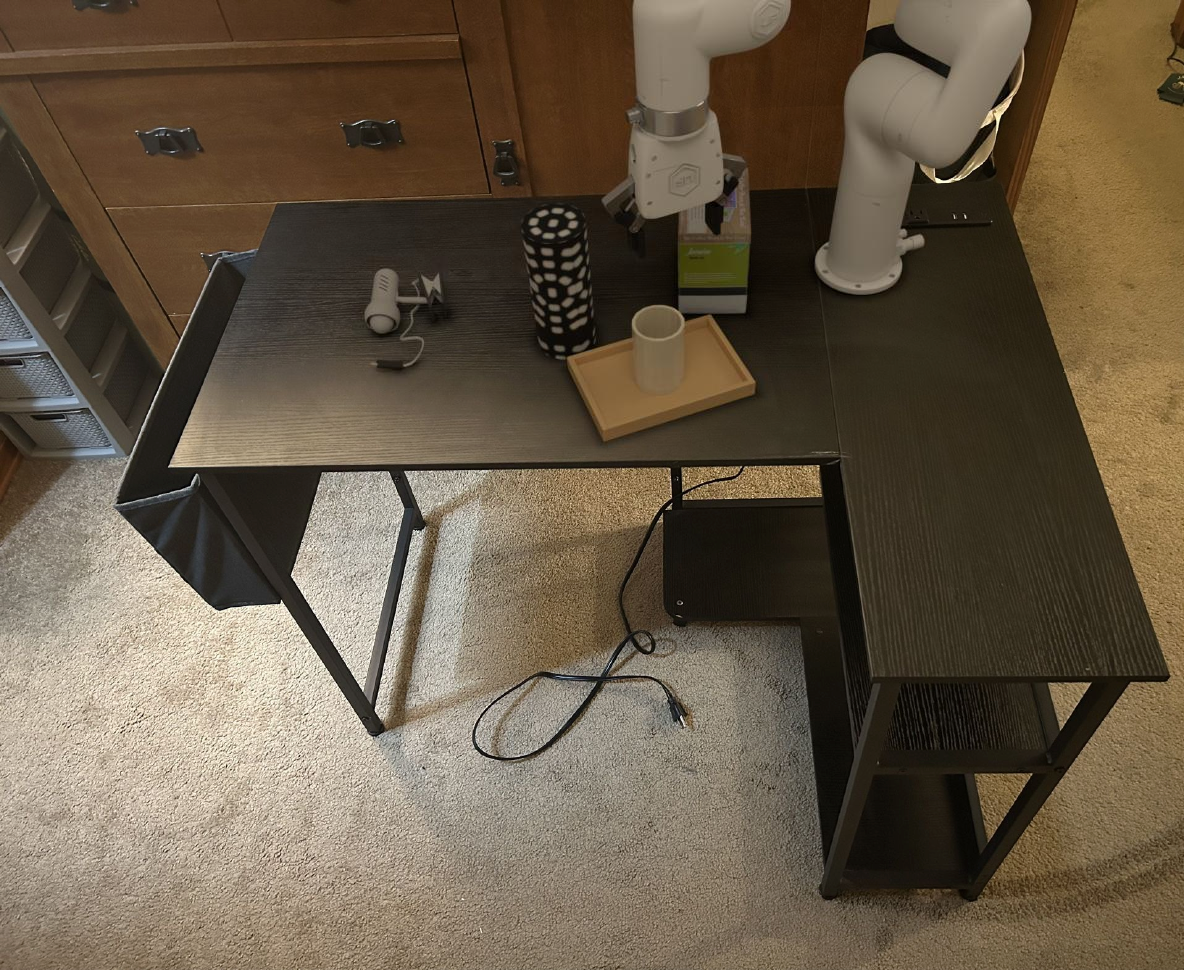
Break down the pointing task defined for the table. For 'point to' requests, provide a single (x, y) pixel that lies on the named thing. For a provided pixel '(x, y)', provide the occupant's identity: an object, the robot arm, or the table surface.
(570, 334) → the spotted tube
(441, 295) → the clip-on lamp
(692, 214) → the tea box
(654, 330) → the cup
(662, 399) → the tray
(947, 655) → the table surface
